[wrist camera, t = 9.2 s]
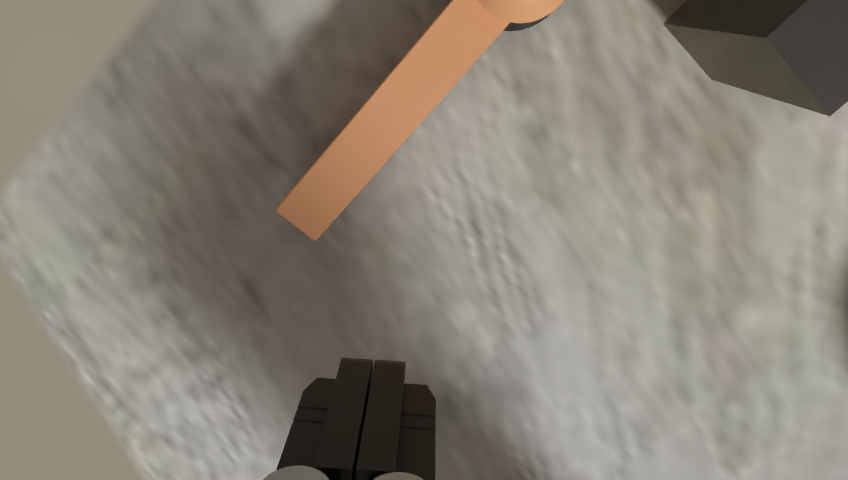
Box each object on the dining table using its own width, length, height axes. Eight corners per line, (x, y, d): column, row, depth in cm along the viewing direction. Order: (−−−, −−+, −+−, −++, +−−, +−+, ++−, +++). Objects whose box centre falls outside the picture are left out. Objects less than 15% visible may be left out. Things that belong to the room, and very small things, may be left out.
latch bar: (270, 184, 25) (250, 208, 23) (513, -111, 21) (526, -126, 18) (336, 237, 26) (325, 265, 24) (583, -36, 22) (605, -40, 19)
